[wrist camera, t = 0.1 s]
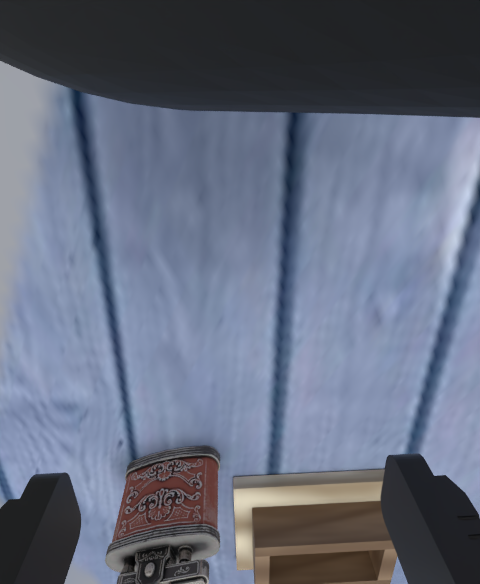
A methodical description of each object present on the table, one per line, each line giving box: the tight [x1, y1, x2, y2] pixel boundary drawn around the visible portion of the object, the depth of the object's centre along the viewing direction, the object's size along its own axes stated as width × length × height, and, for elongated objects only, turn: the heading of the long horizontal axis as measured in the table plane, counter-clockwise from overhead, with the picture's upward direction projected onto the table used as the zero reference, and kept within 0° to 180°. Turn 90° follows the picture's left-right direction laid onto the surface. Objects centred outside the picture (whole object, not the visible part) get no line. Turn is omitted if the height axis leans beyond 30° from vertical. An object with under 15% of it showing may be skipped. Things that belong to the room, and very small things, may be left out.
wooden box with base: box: [233, 469, 397, 584], centre depth 36 cm, size 12×15×5 cm
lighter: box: [105, 446, 220, 584], centre depth 30 cm, size 8×3×10 cm, turn 104°
